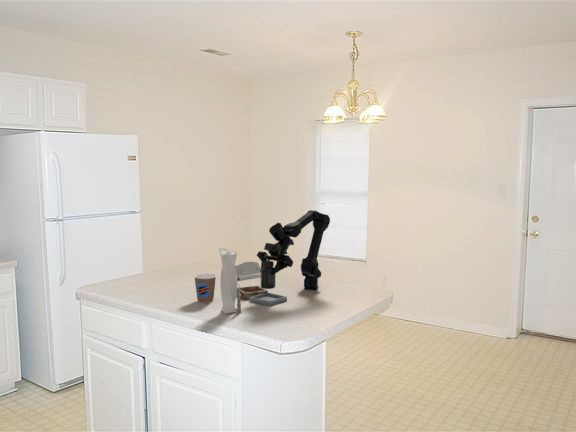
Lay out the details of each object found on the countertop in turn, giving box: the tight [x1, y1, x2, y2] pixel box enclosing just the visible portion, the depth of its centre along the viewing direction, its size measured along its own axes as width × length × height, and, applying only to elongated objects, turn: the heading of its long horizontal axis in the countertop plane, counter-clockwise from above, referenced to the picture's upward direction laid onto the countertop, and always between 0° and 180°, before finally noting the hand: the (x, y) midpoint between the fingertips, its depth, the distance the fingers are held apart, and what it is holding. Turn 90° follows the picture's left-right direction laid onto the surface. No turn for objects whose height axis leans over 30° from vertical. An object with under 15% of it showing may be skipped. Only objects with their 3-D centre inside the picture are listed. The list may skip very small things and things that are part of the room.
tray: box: [249, 292, 288, 307], centre depth 237 cm, size 12×12×2 cm
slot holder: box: [237, 285, 269, 301], centre depth 247 cm, size 12×12×3 cm
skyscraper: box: [218, 247, 243, 316], centre depth 218 cm, size 8×8×28 cm
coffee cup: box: [193, 273, 217, 304], centre depth 236 cm, size 10×10×12 cm
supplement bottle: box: [260, 260, 277, 290], centre depth 236 cm, size 7×7×12 cm
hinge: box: [235, 261, 261, 282], centre depth 287 cm, size 17×5×10 cm, turn 130°
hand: (266, 273), depth 235 cm, fingers closed on supplement bottle, 7 cm apart
